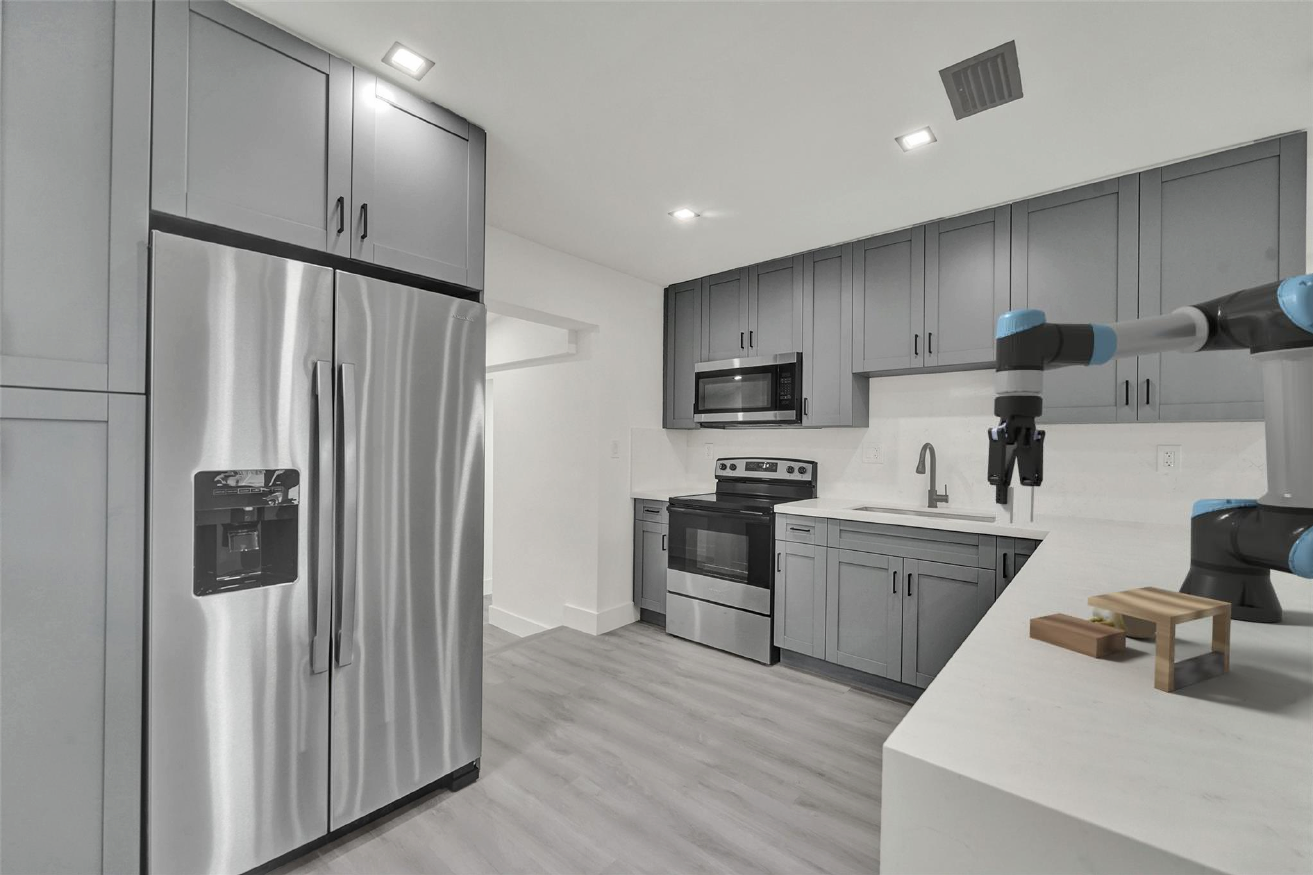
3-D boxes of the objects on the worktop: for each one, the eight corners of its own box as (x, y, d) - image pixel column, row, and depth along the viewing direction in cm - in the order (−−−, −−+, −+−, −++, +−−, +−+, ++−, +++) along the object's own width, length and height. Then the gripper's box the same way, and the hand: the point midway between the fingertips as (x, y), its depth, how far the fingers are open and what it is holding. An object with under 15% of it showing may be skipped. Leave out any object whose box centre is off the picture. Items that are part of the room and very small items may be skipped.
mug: (1110, 622, 109) (1143, 583, 104) (1141, 662, 100) (1178, 622, 96) (1071, 611, 109) (1103, 572, 104) (1099, 650, 100) (1135, 609, 96)
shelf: (1147, 648, 94) (1149, 586, 94) (1229, 671, 85) (1231, 603, 85) (1085, 664, 86) (1087, 597, 86) (1167, 692, 77) (1170, 617, 77)
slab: (1059, 632, 102) (1059, 613, 102) (1125, 652, 93) (1126, 630, 93) (1029, 639, 98) (1030, 619, 98) (1096, 660, 89) (1096, 638, 89)
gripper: (1027, 399, 113) (1024, 516, 113) (966, 393, 105) (962, 520, 105) (1069, 397, 106) (1065, 522, 106) (1007, 391, 98) (1002, 526, 98)
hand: (1014, 521), depth 105 cm, fingers open, 5 cm apart
